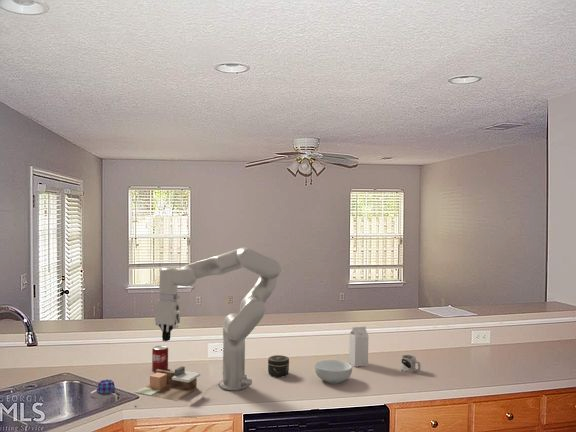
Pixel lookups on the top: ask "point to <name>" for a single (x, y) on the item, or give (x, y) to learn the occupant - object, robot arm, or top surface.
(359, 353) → the milk carton
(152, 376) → the terracotta block
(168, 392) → the puzzle board
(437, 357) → the top surface
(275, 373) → the jar
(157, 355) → the soda can
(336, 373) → the cereal bowl
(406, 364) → the mug
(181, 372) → the sliding lid
